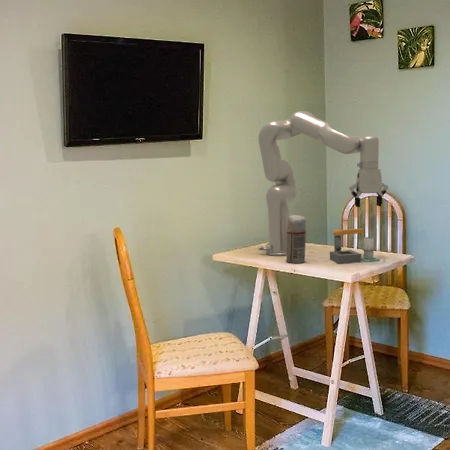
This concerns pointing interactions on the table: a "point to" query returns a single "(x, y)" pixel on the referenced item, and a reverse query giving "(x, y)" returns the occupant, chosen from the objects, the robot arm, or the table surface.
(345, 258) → the socket block
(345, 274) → the table surface
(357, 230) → the orange rectangular bar
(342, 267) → the table surface
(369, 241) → the plug
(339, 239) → the post
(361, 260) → the mat
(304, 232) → the spray can
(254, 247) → the table surface
